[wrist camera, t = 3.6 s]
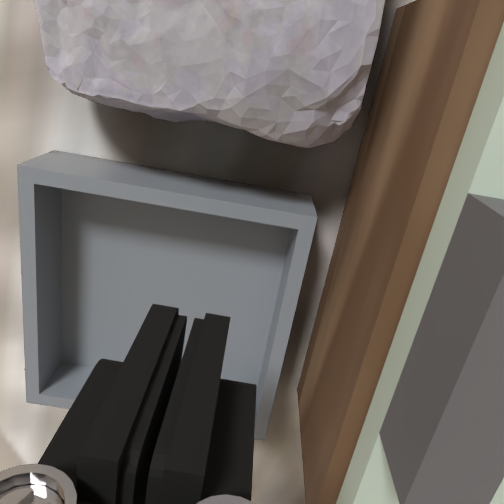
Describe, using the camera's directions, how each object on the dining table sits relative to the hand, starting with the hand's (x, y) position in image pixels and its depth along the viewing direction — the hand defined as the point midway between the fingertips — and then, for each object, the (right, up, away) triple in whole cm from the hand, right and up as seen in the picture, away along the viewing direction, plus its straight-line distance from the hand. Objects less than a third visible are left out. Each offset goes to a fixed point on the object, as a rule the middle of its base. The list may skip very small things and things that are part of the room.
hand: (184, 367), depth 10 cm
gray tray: (-2, +1, +8) cm, 9 cm away
